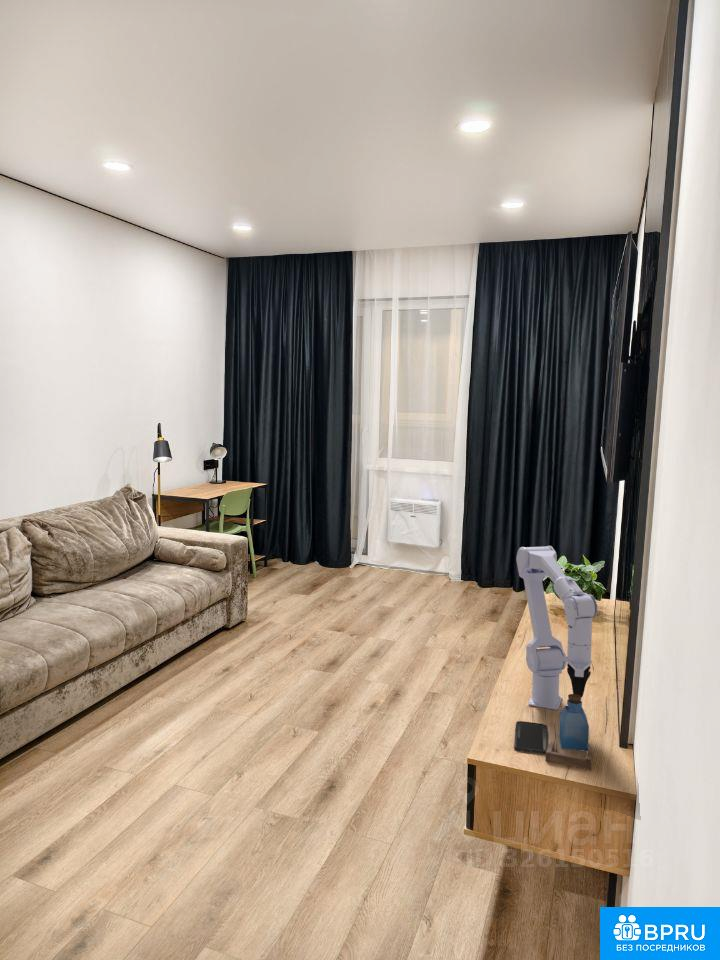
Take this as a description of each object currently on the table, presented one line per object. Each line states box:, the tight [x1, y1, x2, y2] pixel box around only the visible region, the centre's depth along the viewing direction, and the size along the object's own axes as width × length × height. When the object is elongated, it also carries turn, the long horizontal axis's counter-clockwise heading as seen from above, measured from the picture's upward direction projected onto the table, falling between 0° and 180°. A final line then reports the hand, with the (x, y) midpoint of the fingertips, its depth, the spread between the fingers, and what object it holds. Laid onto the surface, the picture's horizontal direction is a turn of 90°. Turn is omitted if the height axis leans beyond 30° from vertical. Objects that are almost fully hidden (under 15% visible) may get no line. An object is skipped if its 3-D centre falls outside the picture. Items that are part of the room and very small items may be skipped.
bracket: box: [544, 738, 594, 771], centre depth 153 cm, size 7×10×2 cm
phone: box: [513, 720, 548, 755], centre depth 162 cm, size 8×1×15 cm
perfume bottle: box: [558, 693, 590, 752], centre depth 159 cm, size 6×6×12 cm
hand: (578, 694), depth 166 cm, fingers closed
